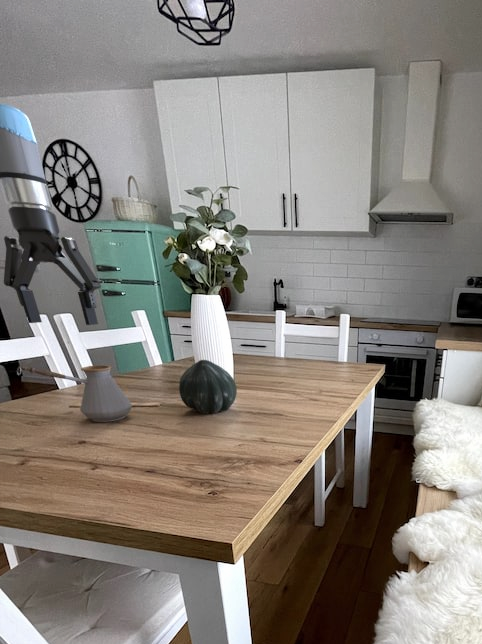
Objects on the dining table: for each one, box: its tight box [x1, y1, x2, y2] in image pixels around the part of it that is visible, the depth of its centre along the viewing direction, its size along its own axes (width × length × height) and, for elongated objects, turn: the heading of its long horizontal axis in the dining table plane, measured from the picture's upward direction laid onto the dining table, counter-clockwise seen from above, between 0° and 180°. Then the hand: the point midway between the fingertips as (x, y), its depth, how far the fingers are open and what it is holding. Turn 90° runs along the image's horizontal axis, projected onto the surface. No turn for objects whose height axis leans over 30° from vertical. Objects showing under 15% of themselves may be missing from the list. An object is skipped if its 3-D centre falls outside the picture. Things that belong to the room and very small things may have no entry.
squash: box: [178, 359, 238, 415], centre depth 109 cm, size 14×15×15 cm
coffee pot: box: [16, 365, 133, 423], centre depth 96 cm, size 21×12×15 cm, turn 142°
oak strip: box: [68, 402, 162, 408], centre depth 114 cm, size 24×3×1 cm, turn 97°
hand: (63, 323), depth 87 cm, fingers open, 13 cm apart
